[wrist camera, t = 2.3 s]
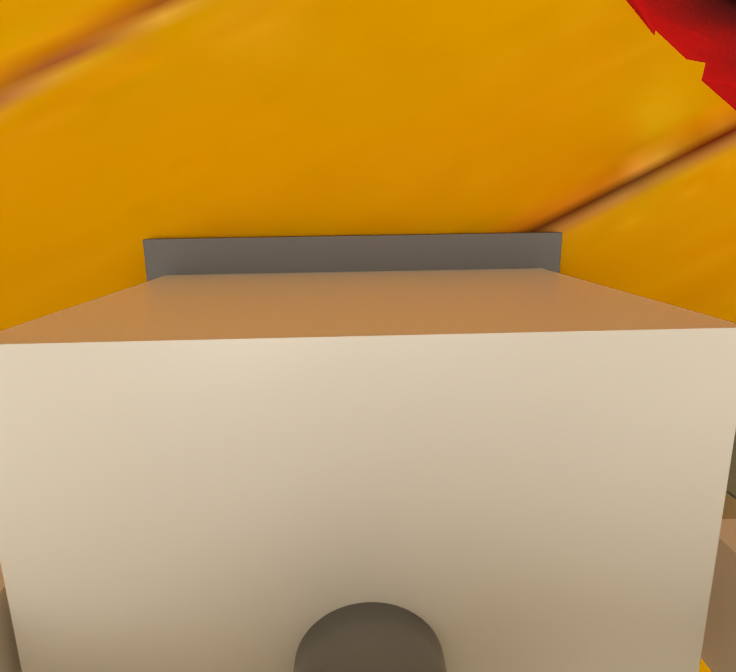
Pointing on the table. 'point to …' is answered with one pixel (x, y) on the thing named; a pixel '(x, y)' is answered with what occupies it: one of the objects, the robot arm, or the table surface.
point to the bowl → (731, 488)
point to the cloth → (698, 36)
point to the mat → (351, 253)
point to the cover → (364, 475)
